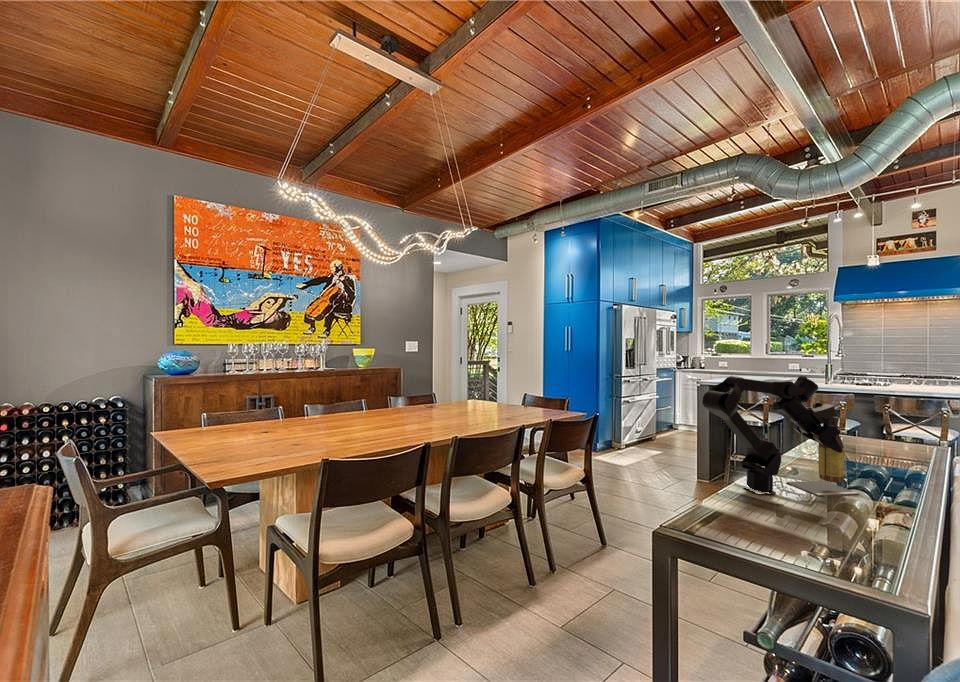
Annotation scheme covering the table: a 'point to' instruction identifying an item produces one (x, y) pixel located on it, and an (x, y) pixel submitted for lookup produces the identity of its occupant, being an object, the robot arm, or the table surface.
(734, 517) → the table surface
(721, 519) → the table surface
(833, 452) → the sauce bottle
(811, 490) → the mat
